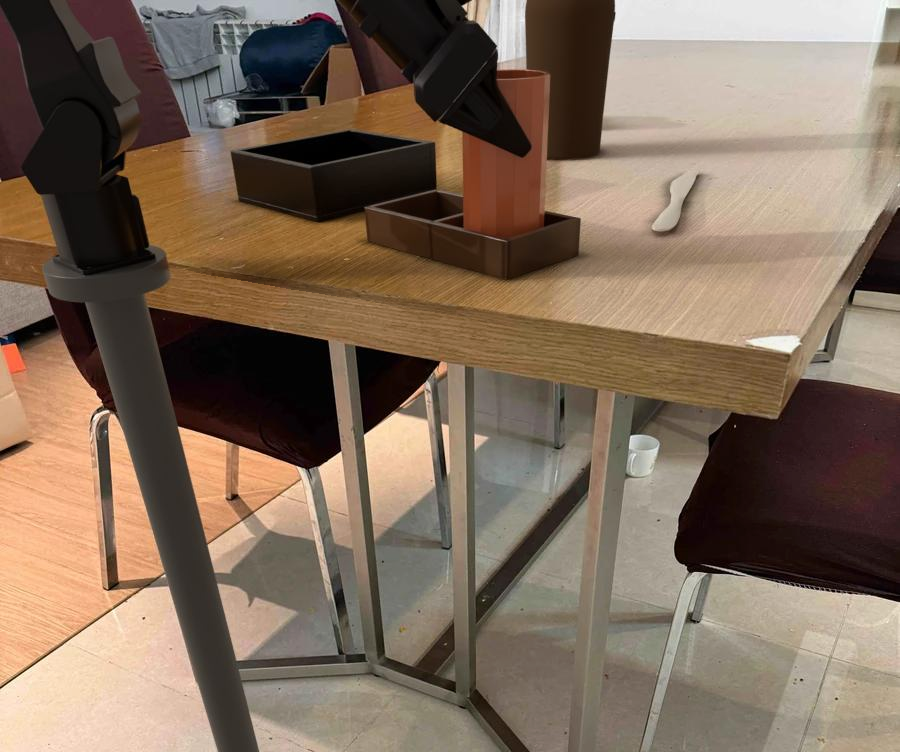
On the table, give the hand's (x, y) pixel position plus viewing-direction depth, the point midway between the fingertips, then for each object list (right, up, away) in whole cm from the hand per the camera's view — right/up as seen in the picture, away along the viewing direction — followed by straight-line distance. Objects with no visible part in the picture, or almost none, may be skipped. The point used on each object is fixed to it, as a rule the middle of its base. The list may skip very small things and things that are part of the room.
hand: (521, 144), depth 68 cm
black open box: (-18, +8, +25) cm, 32 cm away
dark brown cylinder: (+9, +21, +41) cm, 47 cm away
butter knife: (+18, +5, +19) cm, 26 cm away
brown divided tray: (-4, -5, +8) cm, 10 cm away
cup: (-1, -6, +4) cm, 7 cm away
